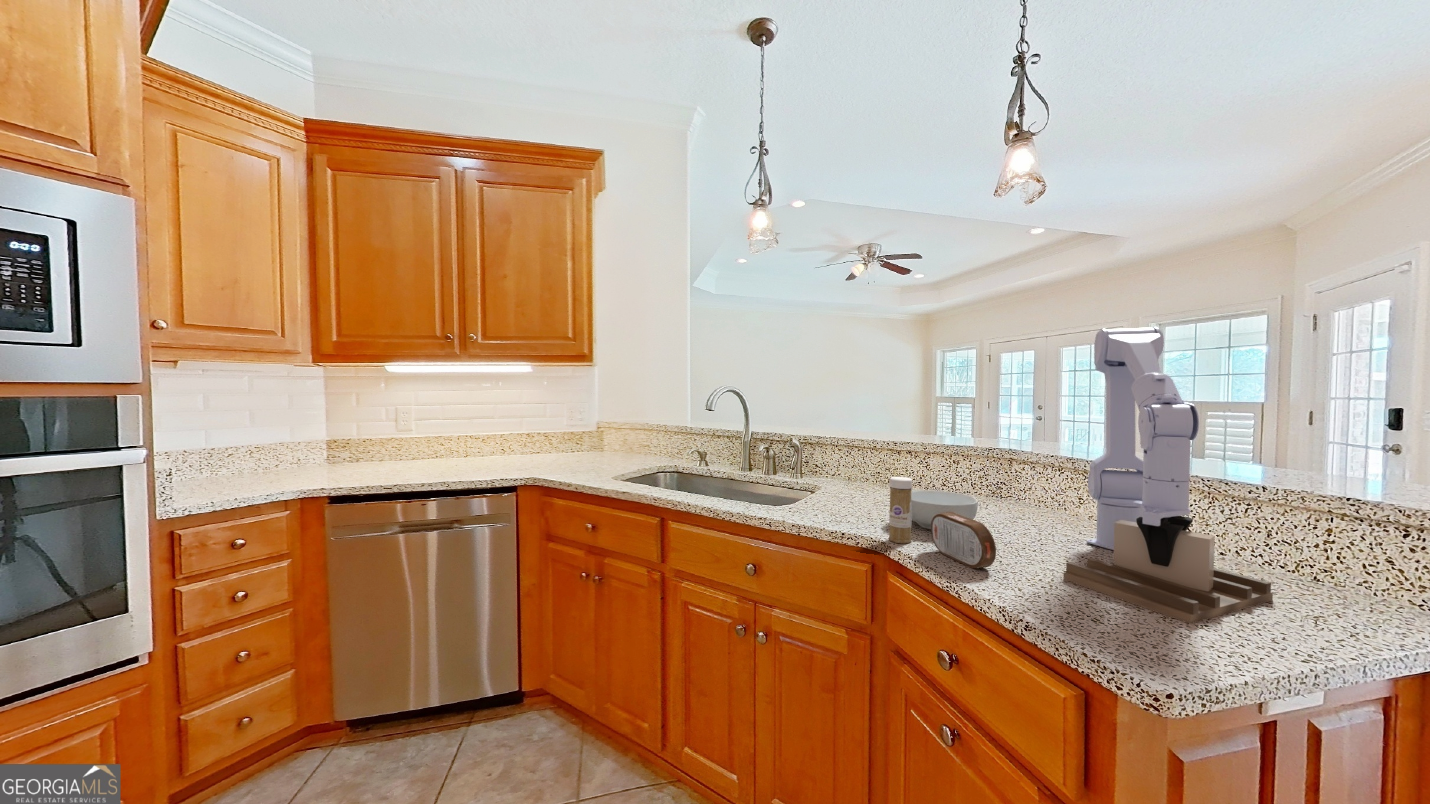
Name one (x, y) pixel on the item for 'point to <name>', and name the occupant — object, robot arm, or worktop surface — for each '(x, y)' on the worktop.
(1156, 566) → the beige rectangular board
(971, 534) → the tin
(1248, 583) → the rack
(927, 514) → the cereal bowl
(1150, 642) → the worktop surface
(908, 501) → the sprinkles bottle
